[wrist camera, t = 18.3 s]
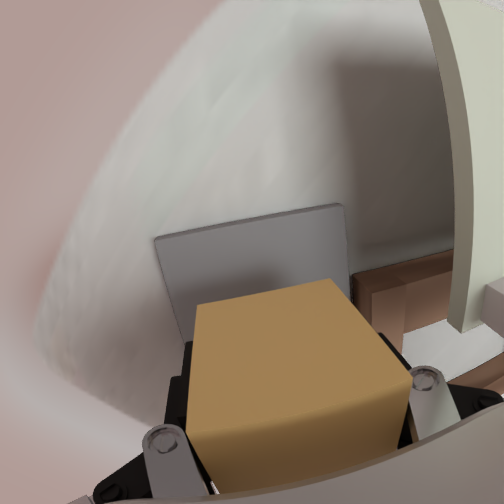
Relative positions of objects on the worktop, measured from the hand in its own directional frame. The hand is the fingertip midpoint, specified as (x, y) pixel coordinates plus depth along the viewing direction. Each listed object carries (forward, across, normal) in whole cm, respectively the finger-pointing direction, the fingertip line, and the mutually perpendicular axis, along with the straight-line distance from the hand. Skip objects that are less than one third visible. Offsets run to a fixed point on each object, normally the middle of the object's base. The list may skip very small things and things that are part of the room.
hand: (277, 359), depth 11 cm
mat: (+5, 0, 0) cm, 5 cm away
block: (+1, 0, 0) cm, 1 cm away
